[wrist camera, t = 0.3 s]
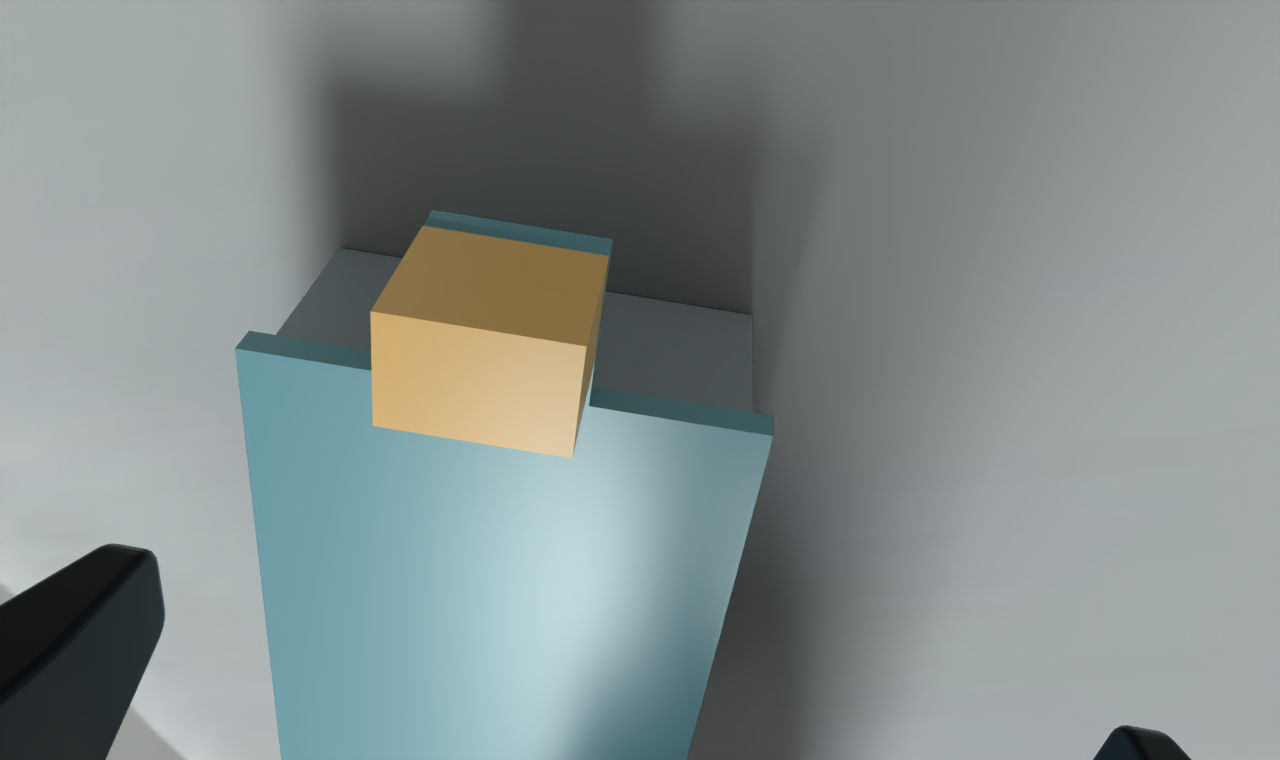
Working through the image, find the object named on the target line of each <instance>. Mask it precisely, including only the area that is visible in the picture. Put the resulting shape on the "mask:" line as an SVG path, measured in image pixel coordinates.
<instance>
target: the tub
mask: <svg viewBox="0 0 1280 760" xmlns="http://www.w3.org/2000/svg"><path fill="white" fill-rule="evenodd" d="M402 259H403V258H399V257H392V256H386V255H380V254H374V253H368V252H362V251H356V250H350V249H343V248H339V250H338V251H337V252H336V254H335V255H334V256H333V258H332V259H331V260H330V262H329V263H328V265H327V266H326V267H325V269H324V270H323V271H322V273H321V274H320V275H319V277H318V278H317V280H316V281H315V282H314V284H313V285H312V286H311V288H310V289H309V290H308V292H307V293H306V294H305V296H304V297H303V299H302V300H301V301H300V303H299V304H298V305H297V307H296V308H295V309H294V311H293V312H292V314H291V315H290V316H289V318H288V319H287V320H286V322H285V323H284V324H283V326H282V327H281V329H280V330H279V331H278V333H277V334H276V335H278V336H284V337H290V338H296V339H302V340H308V341H315V342H321V343H327V344H333V345H339V346H345V347H351V348H358V349H364V350H370V351H371V316H370V311H371V309H372V308H373V306H374V305H375V303H376V301H377V300H378V298H379V296H380V295H381V293H382V291H383V290H384V288H385V287H386V285H387V283H388V282H389V280H390V278H391V277H392V275H393V273H394V272H395V270H396V268H397V267H398V265H399V264H400V262H401V260H402ZM593 387H597V388H603V389H609V390H615V391H622V392H628V393H634V394H640V395H646V396H652V397H658V398H665V399H671V400H677V401H683V402H689V403H695V404H701V405H708V406H714V407H720V408H726V409H732V410H738V411H744V412H750V413H753V317H752V315H748V314H741V313H735V312H729V311H723V310H717V309H711V308H705V307H699V306H692V305H686V304H680V303H674V302H668V301H662V300H656V299H650V298H643V297H637V296H631V295H625V294H619V293H613V292H607V291H606V295H605V302H604V310H603V317H602V325H601V332H600V340H599V347H598V354H597V362H596V369H595V377H594V384H593Z"/></svg>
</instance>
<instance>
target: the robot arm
mask: <svg viewBox="0 0 1280 760" xmlns="http://www.w3.org/2000/svg"><path fill="white" fill-rule="evenodd" d="M164 620H165V607H164V600H163V593H162V587H161V580H160V574H159V567H158V562H157V558H156V556H155V555H154V553H153V552H152V551H149V550H147V549H143V548H137V547H132V546H126V545H121V544H107V545H104V546H101V547H99V548H97V549H95V550H93V551H92V552H90V553H88V554H87V555H85V556H83V557H81V558H80V559H78V560H76V561H75V562H73V563H71V564H70V565H68V566H66V567H64V568H63V569H61V570H59V571H58V572H56V573H54V574H52V575H51V576H49V577H47V578H46V579H44V580H42V581H41V582H39V583H37V584H35V585H34V586H32V587H30V588H29V589H27V590H25V591H23V592H22V593H20V594H18V595H17V596H15V597H13V598H12V599H10V600H8V601H7V602H5V603H3V604H1V605H0V760H106V758H107V756H108V753H109V751H110V748H111V747H112V744H113V742H114V740H115V738H116V735H117V733H118V731H119V729H120V726H121V724H122V722H123V719H124V717H125V715H126V713H127V710H128V708H129V706H130V704H131V702H132V699H133V697H134V695H135V693H136V690H137V688H138V686H139V683H140V681H141V679H142V677H143V674H144V672H145V670H146V668H147V665H148V663H149V661H150V659H151V656H152V654H153V652H154V650H155V647H156V645H157V643H158V641H159V638H160V636H161V633H162V629H163V626H164ZM1093 760H1191V759H1190V758H1189V757H1188V755H1187V754H1186V753H1185V752H1184V751H1183V750H1182V749H1181V748H1180V747H1179V746H1178V745H1177V744H1176V742H1175V741H1173V740H1172V739H1171V738H1170V737H1169V736H1168V735H1166V734H1164V733H1162V732H1160V731H1156V730H1150V729H1145V728H1139V727H1134V726H1128V725H1123V726H1120V727H1118V728H1116V729H1114V730H1113V731H1112V733H1111V734H1110V735H1109V737H1108V738H1107V740H1106V741H1105V743H1104V744H1103V746H1102V747H1101V749H1100V750H1099V752H1098V753H1097V755H1096V756H1095V758H1094V759H1093Z"/></svg>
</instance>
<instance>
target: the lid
mask: <svg viewBox="0 0 1280 760" xmlns="http://www.w3.org/2000/svg"><path fill="white" fill-rule="evenodd" d="M612 243H613V239H609V238H603V237H597V236H591V235H585V234H578V233H572V232H566V231H560V230H554V229H548V228H542V227H536V226H529V225H523V224H517V223H511V222H505V221H499V220H493V219H487V218H481V217H474V216H468V215H462V214H456V213H450V212H444V211H438V210H432V211H431V213H430V214H429V216H428V218H427V219H426V221H425V223H424V224H423V226H422V227H421V229H420V231H419V232H418V234H417V236H416V237H415V239H414V241H413V242H412V244H411V245H410V247H409V249H408V250H407V252H406V254H405V255H404V257H403V259H402V260H401V262H400V264H399V265H398V267H397V268H396V270H395V272H394V273H393V275H392V277H391V278H390V280H389V282H388V283H387V285H386V287H385V288H384V290H383V291H382V293H381V295H380V296H379V298H378V300H377V301H376V303H375V305H374V306H373V308H372V309H371V311H370V316H371V351H370V350H364V349H358V348H351V347H345V346H339V345H333V344H327V343H321V342H315V341H308V340H302V339H296V338H290V337H284V336H278V335H272V334H265V333H259V332H253V331H249V332H248V333H247V334H246V335H245V337H244V338H243V339H242V340H241V342H240V343H239V344H238V346H237V347H236V348H235V352H236V361H237V369H238V378H239V387H240V396H241V405H242V414H243V423H244V432H245V441H246V449H247V458H248V467H249V476H250V485H251V494H252V503H253V512H254V521H255V529H256V538H257V547H258V556H259V565H260V574H261V583H262V592H263V601H264V609H265V618H266V627H267V636H268V645H269V654H270V663H271V672H272V681H273V689H274V698H275V707H276V716H277V725H278V734H279V743H280V752H281V760H687V756H688V753H689V749H690V745H691V741H692V738H693V734H694V730H695V727H696V723H697V719H698V716H699V712H700V708H701V704H702V701H703V697H704V693H705V690H706V686H707V682H708V678H709V675H710V671H711V667H712V664H713V660H714V656H715V652H716V649H717V645H718V641H719V638H720V634H721V630H722V626H723V623H724V619H725V615H726V612H727V608H728V604H729V600H730V597H731V593H732V589H733V586H734V582H735V578H736V574H737V571H738V567H739V563H740V560H741V556H742V552H743V548H744V545H745V541H746V537H747V534H748V530H749V526H750V522H751V519H752V515H753V511H754V508H755V504H756V500H757V496H758V493H759V489H760V485H761V482H762V478H763V474H764V470H765V467H766V463H767V459H768V456H769V452H770V448H771V444H772V441H773V437H774V431H773V416H769V415H763V414H757V413H750V412H744V411H738V410H732V409H726V408H720V407H714V406H708V405H701V404H695V403H689V402H683V401H677V400H671V399H665V398H658V397H652V396H646V395H640V394H634V393H628V392H622V391H615V390H609V389H603V388H597V387H593V384H594V377H595V369H596V362H597V354H598V347H599V340H600V332H601V325H602V317H603V310H604V302H605V295H606V287H607V280H608V272H609V265H610V258H611V250H612Z"/></svg>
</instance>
